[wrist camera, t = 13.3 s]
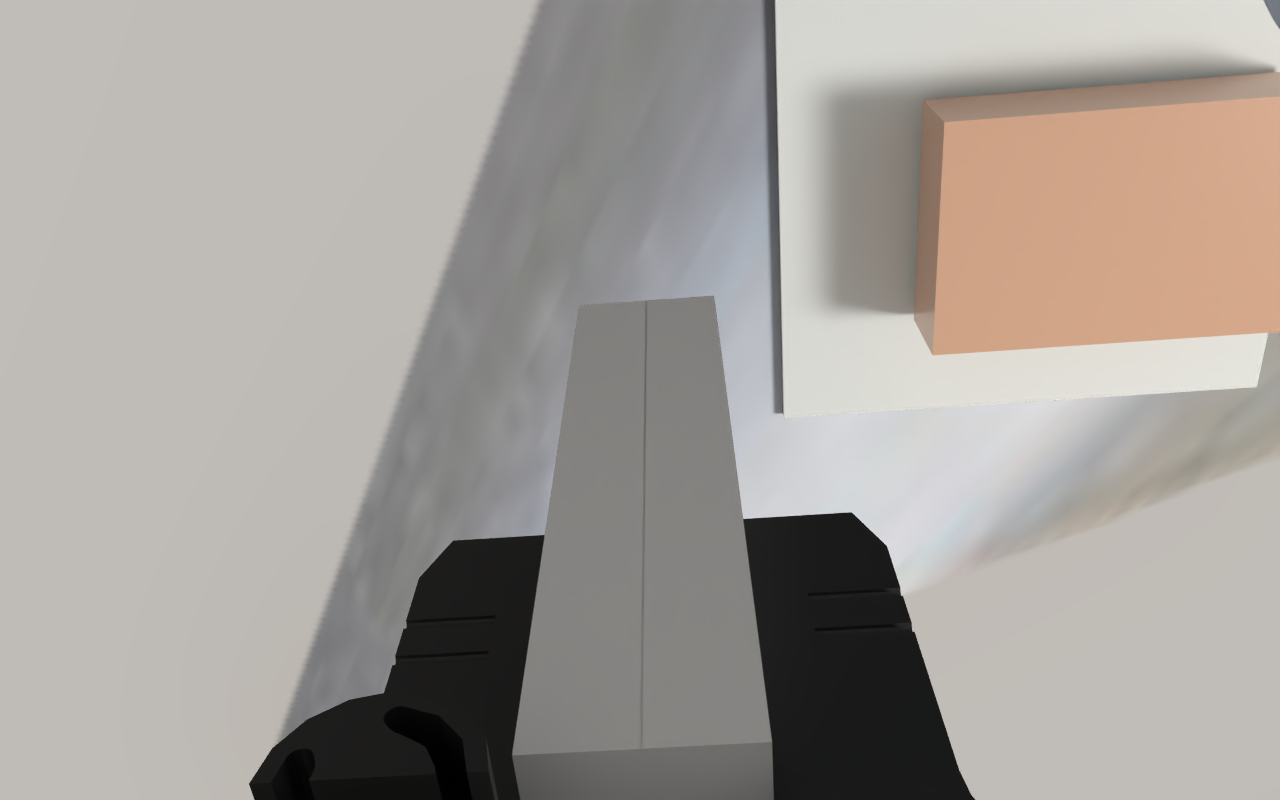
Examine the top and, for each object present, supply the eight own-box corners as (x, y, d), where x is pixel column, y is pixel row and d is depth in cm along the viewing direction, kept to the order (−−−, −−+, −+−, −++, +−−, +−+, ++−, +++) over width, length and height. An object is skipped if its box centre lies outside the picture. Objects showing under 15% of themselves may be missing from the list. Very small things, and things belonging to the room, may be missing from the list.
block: (944, 121, 34) (1344, 91, 33) (920, 97, 37) (1286, 68, 36) (932, 355, 37) (1291, 330, 37) (911, 315, 40) (1242, 292, 40)
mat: (774, -19, 35) (775, -17, 35) (1346, -67, 34) (1351, -66, 34) (783, 414, 43) (784, 417, 42) (1252, 383, 42) (1256, 386, 42)
